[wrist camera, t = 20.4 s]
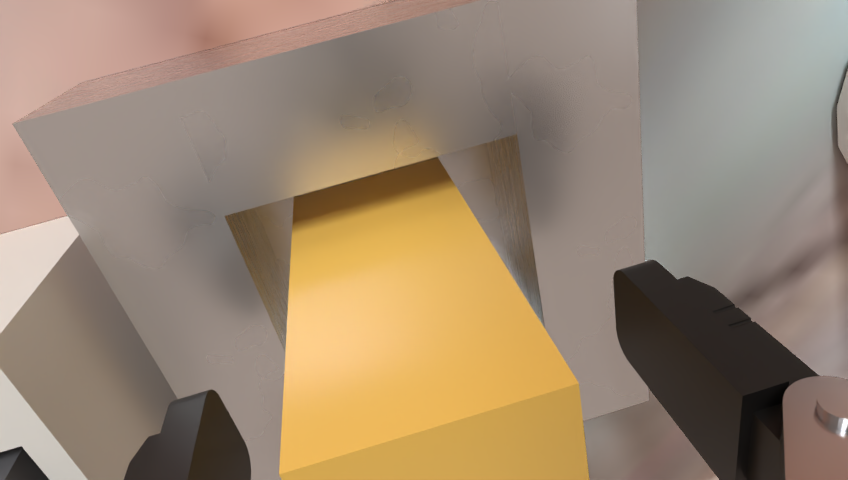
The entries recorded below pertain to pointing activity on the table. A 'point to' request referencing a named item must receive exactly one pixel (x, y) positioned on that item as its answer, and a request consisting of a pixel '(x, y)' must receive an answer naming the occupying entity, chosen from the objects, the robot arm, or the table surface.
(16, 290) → the breaker housing
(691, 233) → the table surface
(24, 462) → the block
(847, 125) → the bottle
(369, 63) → the plate
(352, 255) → the yellow flat-faced block
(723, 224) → the table surface
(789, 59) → the table surface
